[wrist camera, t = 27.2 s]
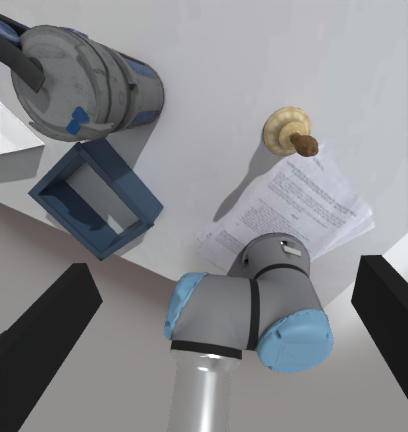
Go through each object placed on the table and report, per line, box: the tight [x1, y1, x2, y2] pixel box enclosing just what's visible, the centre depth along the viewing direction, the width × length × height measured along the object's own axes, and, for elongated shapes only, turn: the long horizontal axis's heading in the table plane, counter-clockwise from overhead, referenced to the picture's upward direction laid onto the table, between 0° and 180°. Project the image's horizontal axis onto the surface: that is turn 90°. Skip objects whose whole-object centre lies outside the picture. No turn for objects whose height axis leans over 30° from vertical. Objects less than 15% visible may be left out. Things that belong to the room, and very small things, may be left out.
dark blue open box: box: [28, 138, 163, 261], centre depth 47 cm, size 19×16×9 cm
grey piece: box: [0, 14, 164, 142], centre depth 30 cm, size 10×13×25 cm
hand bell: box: [263, 107, 319, 157], centre depth 34 cm, size 8×8×16 cm
